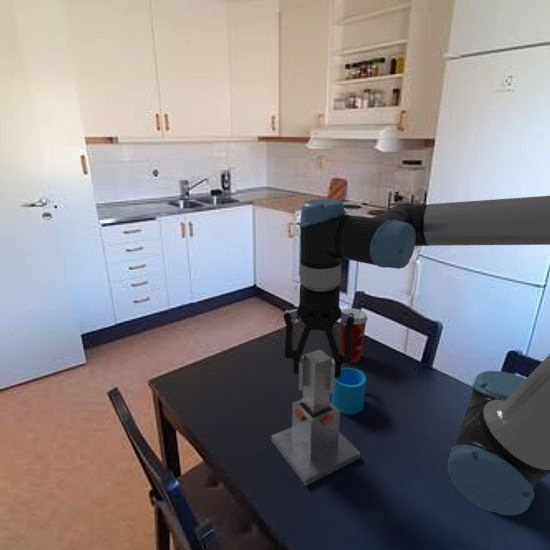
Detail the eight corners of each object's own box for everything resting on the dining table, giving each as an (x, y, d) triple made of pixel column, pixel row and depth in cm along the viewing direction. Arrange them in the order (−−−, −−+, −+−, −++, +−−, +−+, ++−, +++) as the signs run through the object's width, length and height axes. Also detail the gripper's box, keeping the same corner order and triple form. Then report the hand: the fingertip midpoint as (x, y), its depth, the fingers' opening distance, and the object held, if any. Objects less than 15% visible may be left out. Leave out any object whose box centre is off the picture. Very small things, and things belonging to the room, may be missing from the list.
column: (329, 434, 86) (332, 358, 79) (312, 442, 84) (314, 364, 77) (317, 422, 90) (320, 348, 83) (301, 429, 88) (302, 354, 81)
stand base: (360, 458, 86) (363, 414, 82) (305, 485, 80) (306, 439, 75) (321, 419, 97) (323, 378, 93) (271, 440, 91) (270, 398, 87)
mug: (353, 419, 97) (355, 391, 94) (325, 405, 102) (326, 378, 100) (376, 395, 106) (379, 369, 103) (350, 383, 111) (351, 358, 108)
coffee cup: (366, 364, 119) (370, 319, 114) (339, 364, 119) (341, 319, 114) (361, 350, 127) (364, 307, 122) (335, 350, 127) (337, 307, 122)
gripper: (370, 279, 76) (362, 381, 85) (274, 274, 80) (275, 373, 88) (372, 294, 69) (363, 404, 78) (266, 288, 73) (268, 394, 81)
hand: (316, 387), depth 83 cm, fingers closed on column, 6 cm apart
